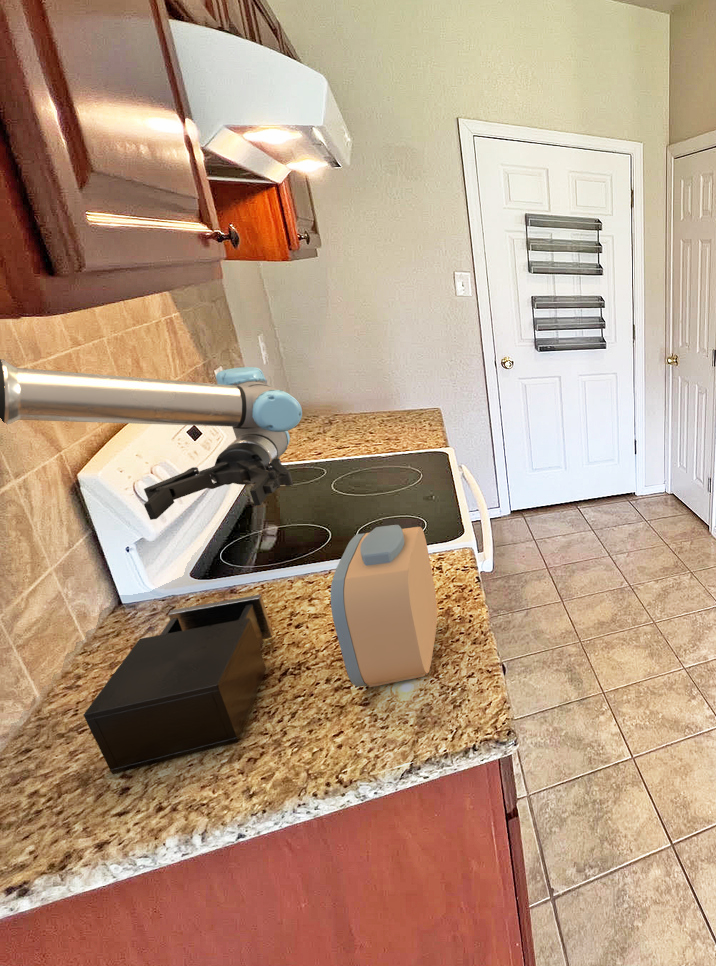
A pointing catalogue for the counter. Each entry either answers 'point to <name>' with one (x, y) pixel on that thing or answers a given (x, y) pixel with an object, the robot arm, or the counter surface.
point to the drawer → (223, 616)
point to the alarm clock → (385, 606)
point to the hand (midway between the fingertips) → (203, 504)
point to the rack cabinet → (178, 695)
